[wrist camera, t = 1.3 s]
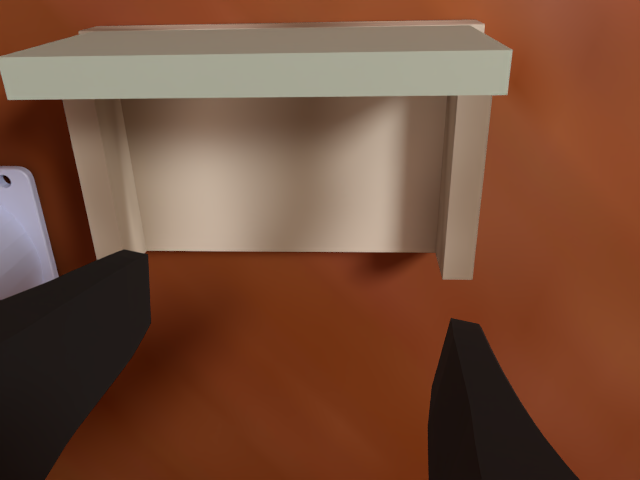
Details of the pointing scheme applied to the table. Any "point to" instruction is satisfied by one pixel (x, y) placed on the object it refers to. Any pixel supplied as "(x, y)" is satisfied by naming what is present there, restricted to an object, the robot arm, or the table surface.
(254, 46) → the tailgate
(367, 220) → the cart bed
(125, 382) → the table surface
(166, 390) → the table surface
